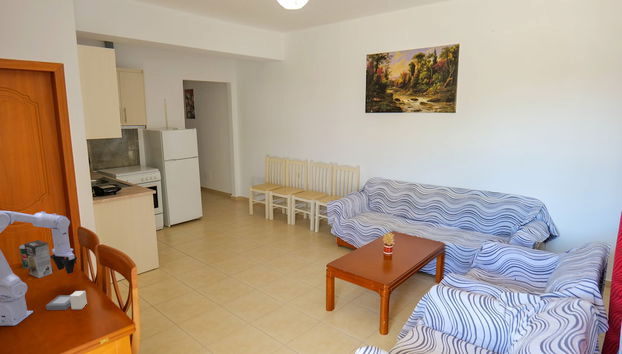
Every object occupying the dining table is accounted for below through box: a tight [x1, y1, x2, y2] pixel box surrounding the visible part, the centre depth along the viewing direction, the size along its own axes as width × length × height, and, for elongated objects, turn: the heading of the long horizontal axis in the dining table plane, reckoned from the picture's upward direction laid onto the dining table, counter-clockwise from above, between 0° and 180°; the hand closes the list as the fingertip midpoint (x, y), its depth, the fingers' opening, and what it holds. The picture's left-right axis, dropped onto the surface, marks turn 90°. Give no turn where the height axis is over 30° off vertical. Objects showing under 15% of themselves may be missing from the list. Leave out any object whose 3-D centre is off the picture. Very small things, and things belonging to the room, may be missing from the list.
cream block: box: [69, 290, 88, 310], centre depth 153 cm, size 4×4×6 cm
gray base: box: [45, 294, 71, 311], centre depth 155 cm, size 8×8×2 cm
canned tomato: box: [18, 244, 29, 269], centre depth 192 cm, size 8×8×11 cm
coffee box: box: [23, 239, 53, 279], centre depth 181 cm, size 9×6×16 cm
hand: (65, 271), depth 164 cm, fingers open, 7 cm apart
